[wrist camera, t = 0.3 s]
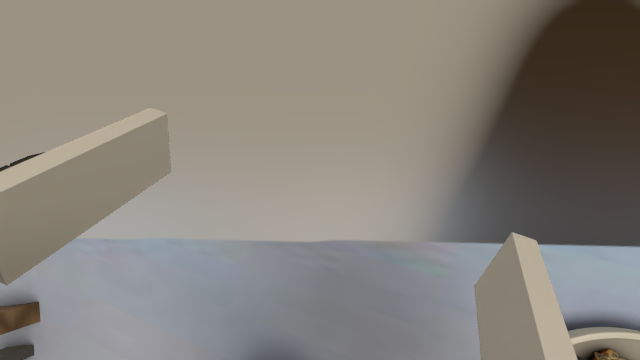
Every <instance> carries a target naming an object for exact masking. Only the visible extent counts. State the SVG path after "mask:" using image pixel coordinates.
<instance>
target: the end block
mask: <svg viewBox="0 0 640 360" xmlns="http://www.w3.org/2000/svg"><path fill="white" fill-rule="evenodd" d="M39 321H40V314H39V302H36V303H28V304H20V305H12V306H4V307H0V335H2V334H5V333H8V332H10V331H13V330H16V329H19V328H22V327H25V326H28V325H30V324H33V323H36V322H39Z"/></svg>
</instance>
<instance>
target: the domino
mask: <svg viewBox="0 0 640 360" xmlns="http://www.w3.org/2000/svg"><path fill="white" fill-rule="evenodd" d="M33 355H34V345H24V346H14V347H6V348H4V349H1V350H0V360H23V359H26V358H28V357H30V356H33Z"/></svg>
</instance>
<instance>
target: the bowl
mask: <svg viewBox="0 0 640 360" xmlns="http://www.w3.org/2000/svg"><path fill="white" fill-rule="evenodd" d="M568 333H569V336H570V339H571V342H572V345H573V348H574V351H575V354H576V355H577V356H579V357H582V358H584V359H587V360H640V331H637V330H632V329H625V328H616V327H590V328H581V329H575V330H570V331H568Z"/></svg>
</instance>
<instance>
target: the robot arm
mask: <svg viewBox="0 0 640 360" xmlns="http://www.w3.org/2000/svg"><path fill="white" fill-rule="evenodd" d="M170 172H171V164H170V149H169V134H168V118H167V113H164V112H161V111H159V110H156V109H153V108H148V109H146V110H144V111H142V112H139V113H137V114H134V115H132V116H130V117H127V118H125V119H123V120H120V121H118V122H116V123H113V124H111V125H109V126H106V127H104V128H102V129H99V130H97V131H95V132H92V133H90V134H87V135H85V136H83V137H80V138H78V139H76V140H74V141H71V142H69V143H66V144H64V145H62V146H60V147H57V148H55V149H53V150H50V151H48V152H44V153H40V154H35V155H31V156H27V157H25V158H23V159H20V160H18V161H15V162H13V163H11V164H10V166H7V165H6V166H4V167H1V168H0V282H1V283H3V284H5V285H8V284H10V283H11V282H12V281H14V280H15V279H17V278H18V277H20V276H21V275H23V274H24V273H25V272H27V271H28V270H30V269H31V268H33V267H34V266H36V265H37V264H39V263H40V262H41V261H43V260H44V259H46V258H47V257H49V256H50V255H52V254H53V253H54V252H56V251H57V250H59V249H60V248H62V247H63V246H65V245H66V244H67V243H69V242H70V241H72V240H73V239H75V238H76V237H78V236H79V235H80V234H82V233H83V232H85V231H86V230H88V229H89V228H91V227H92V226H93V225H95V224H96V223H98V222H99V221H101V220H102V219H104V218H105V217H106V216H108V215H109V214H111V213H112V212H114V211H115V210H117V209H118V208H120V207H121V206H122V205H124V204H125V203H127V202H128V201H130V200H131V199H132V198H134V197H135V196H137V195H138V194H140V193H141V192H143V191H144V190H146V189H147V188H148V187H150V186H151V185H153V184H154V183H156V182H157V181H159V180H160V179H161V178H163V177H164V176H166V175H167V174H169V173H170ZM475 297H476V308H477V319H478V330H479V340H480V351H481V360H587V359H584V358H582V357H579V356H577V355H576V354H575V351H574V348H573V345H572V342H571V339H570V336H569V333H568V331H567V328H566V325H565V322H564V319H563V316H562V313H561V310H560V307H559V305H558V302H557V299H556V296H555V293H554V290H553V287H552V284H551V282H550V279H549V276H548V273H547V270H546V267H545V264H544V261H543V258H542V256H541V253H540V250H539V247H538V244H537V241H536V240H533V239H530V238H527V237H524V236H522V235H519V234H516V233H513V232H512V233H511V234H510V236H509V237H508V239H507V240H506V242H505V243H504V244H503V246H502V247H501V249H500V250H499V252H498V253H497V254H496V256H495V257H494V259H493V260H492V262H491V263H490V264H489V266H488V267H487V269H486V270H485V272H484V273H483V274H482V276H481V277H480V279H479V280H478V282H477V283H476V284H475Z"/></svg>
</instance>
